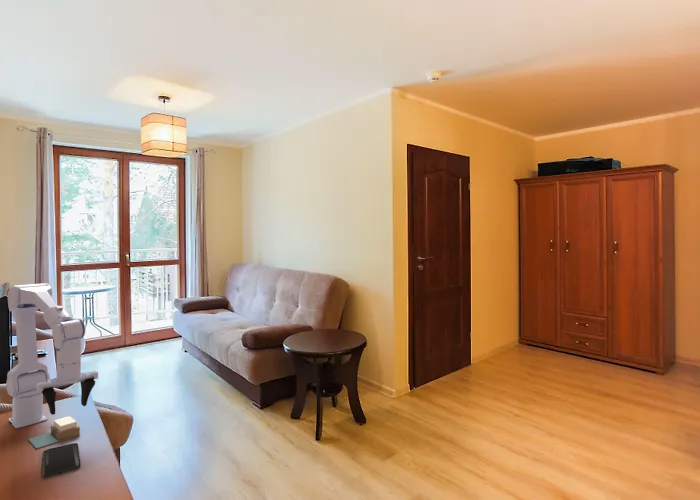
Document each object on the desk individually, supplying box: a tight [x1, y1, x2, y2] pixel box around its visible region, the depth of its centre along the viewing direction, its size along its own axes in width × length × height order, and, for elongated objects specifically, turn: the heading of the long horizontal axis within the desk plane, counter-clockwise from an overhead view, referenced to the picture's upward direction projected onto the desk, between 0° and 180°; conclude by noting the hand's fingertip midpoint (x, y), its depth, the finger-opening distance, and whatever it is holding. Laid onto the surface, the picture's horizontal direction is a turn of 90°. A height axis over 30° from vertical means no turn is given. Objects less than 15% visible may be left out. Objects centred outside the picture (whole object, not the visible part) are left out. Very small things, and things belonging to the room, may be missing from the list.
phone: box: [41, 442, 81, 479], centre depth 105 cm, size 8×1×15 cm
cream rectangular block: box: [53, 415, 78, 431], centre depth 119 cm, size 6×4×2 cm, turn 51°
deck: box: [50, 423, 81, 443], centre depth 119 cm, size 8×5×2 cm, turn 52°
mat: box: [28, 432, 59, 450], centre depth 115 cm, size 8×5×1 cm, turn 52°
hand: (68, 409), depth 115 cm, fingers open, 7 cm apart
